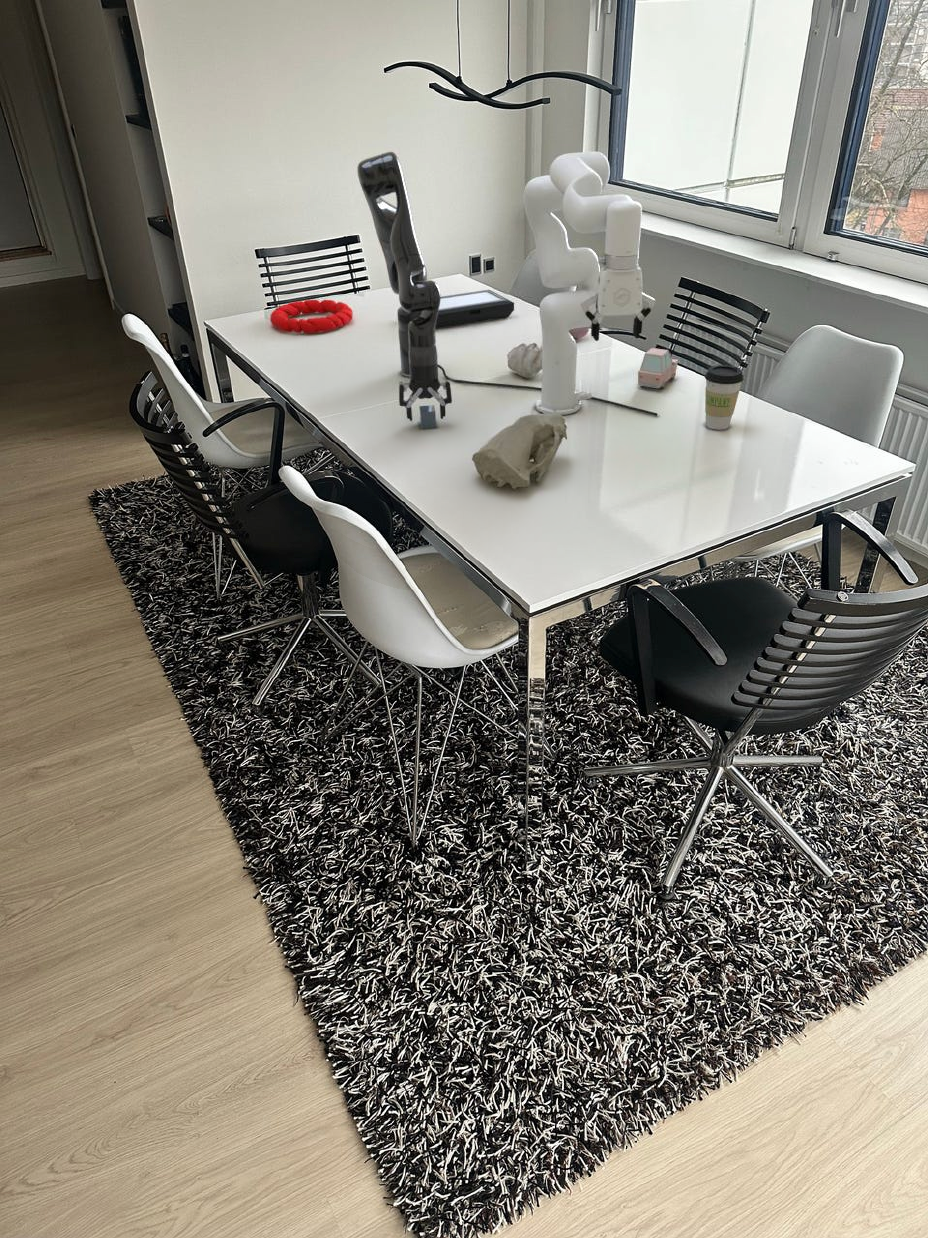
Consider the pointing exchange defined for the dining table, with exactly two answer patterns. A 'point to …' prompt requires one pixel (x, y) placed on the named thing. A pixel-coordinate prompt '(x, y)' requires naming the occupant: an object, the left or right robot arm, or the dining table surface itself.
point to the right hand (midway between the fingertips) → (615, 337)
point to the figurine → (578, 332)
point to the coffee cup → (721, 395)
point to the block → (427, 416)
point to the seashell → (525, 360)
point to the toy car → (657, 368)
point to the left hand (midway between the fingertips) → (426, 418)
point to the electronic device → (472, 308)
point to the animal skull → (521, 450)
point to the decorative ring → (313, 324)
